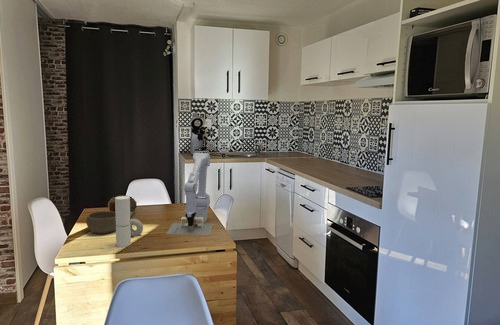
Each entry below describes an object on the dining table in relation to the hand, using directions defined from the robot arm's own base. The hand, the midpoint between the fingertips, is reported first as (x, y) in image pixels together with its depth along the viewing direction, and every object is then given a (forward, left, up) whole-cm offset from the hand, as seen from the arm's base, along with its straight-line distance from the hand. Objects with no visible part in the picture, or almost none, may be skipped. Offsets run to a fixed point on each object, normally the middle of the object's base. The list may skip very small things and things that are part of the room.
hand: (190, 225), depth 214 cm
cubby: (-3, -1, -4) cm, 5 cm away
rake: (-4, 0, -3) cm, 5 cm away
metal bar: (+2, -9, -3) cm, 10 cm away
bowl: (+2, -50, -4) cm, 50 cm away
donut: (+10, -30, -4) cm, 32 cm away
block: (-11, 0, -3) cm, 11 cm away
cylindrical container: (+23, -32, -4) cm, 39 cm away
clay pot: (-33, -48, -4) cm, 59 cm away
